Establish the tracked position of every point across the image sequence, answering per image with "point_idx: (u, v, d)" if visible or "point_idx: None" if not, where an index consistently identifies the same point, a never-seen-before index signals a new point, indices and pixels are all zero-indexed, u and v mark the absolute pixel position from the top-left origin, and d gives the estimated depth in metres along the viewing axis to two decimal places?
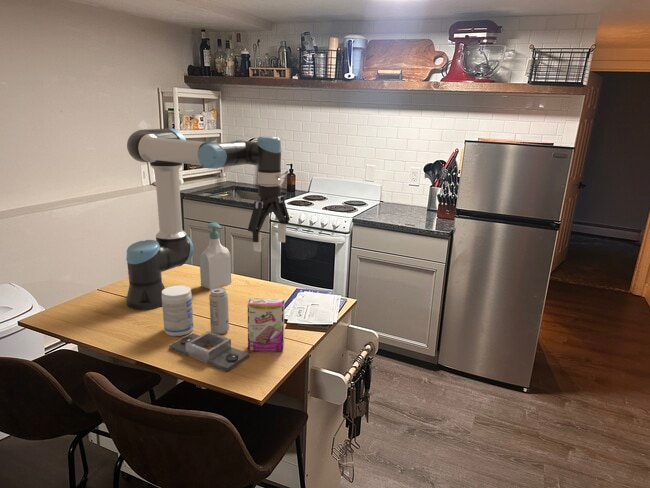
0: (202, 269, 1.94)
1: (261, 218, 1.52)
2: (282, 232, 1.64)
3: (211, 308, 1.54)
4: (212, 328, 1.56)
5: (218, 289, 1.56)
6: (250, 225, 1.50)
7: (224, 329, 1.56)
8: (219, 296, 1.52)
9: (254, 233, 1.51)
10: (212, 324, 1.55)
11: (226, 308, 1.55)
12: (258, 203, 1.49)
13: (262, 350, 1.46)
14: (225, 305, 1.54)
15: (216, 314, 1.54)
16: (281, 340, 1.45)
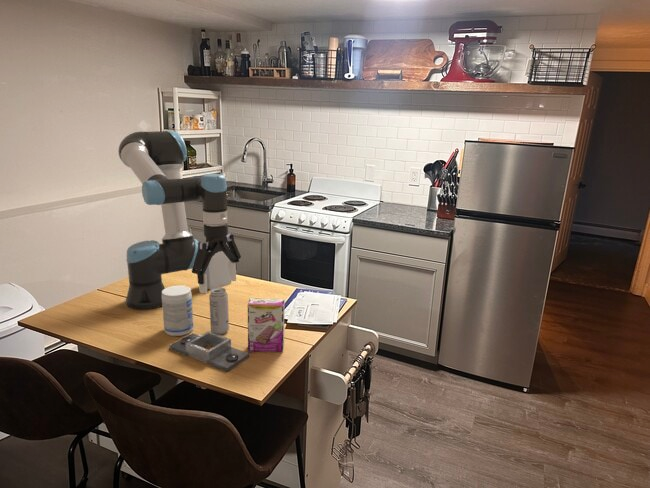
0: None
1: (206, 259, 1.46)
2: (232, 271, 1.58)
3: (211, 308, 1.54)
4: (212, 328, 1.56)
5: (218, 289, 1.56)
6: (194, 267, 1.44)
7: (224, 329, 1.56)
8: (219, 296, 1.52)
9: (199, 275, 1.45)
10: (212, 324, 1.55)
11: (226, 308, 1.55)
12: (202, 244, 1.44)
13: (262, 350, 1.46)
14: (225, 305, 1.54)
15: (216, 314, 1.54)
16: (281, 340, 1.45)
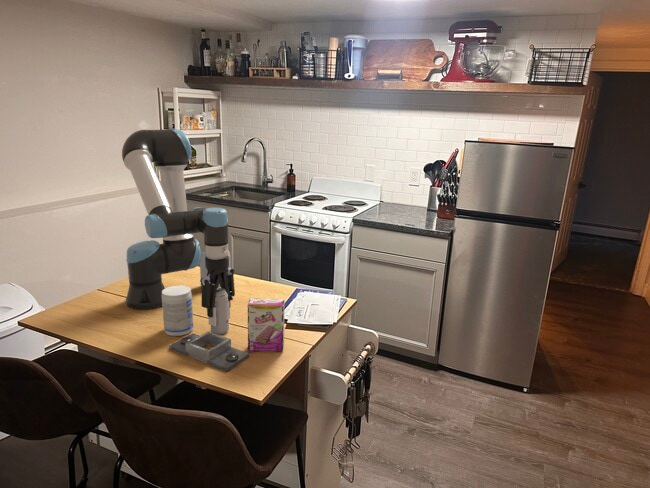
0: (202, 269, 1.94)
1: (212, 293, 1.51)
2: None
3: None
4: (212, 328, 1.56)
5: (218, 289, 1.56)
6: (203, 302, 1.50)
7: (224, 329, 1.56)
8: (219, 296, 1.52)
9: (208, 309, 1.52)
10: None
11: (226, 308, 1.55)
12: (204, 281, 1.47)
13: (262, 350, 1.46)
14: (225, 305, 1.54)
15: (216, 313, 1.54)
16: (281, 340, 1.45)
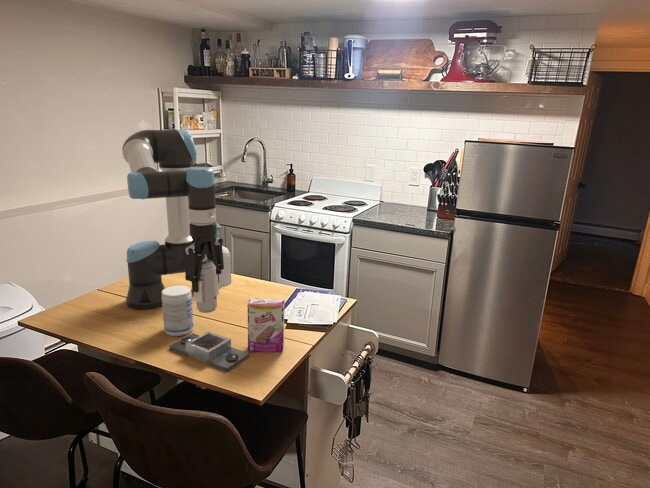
0: None
1: (197, 264, 1.33)
2: None
3: None
4: (198, 305, 1.38)
5: (205, 261, 1.38)
6: (186, 274, 1.32)
7: (211, 306, 1.38)
8: (206, 269, 1.34)
9: (193, 282, 1.34)
10: None
11: (214, 282, 1.37)
12: (188, 250, 1.29)
13: (262, 350, 1.46)
14: (213, 279, 1.36)
15: (202, 288, 1.36)
16: (281, 340, 1.45)
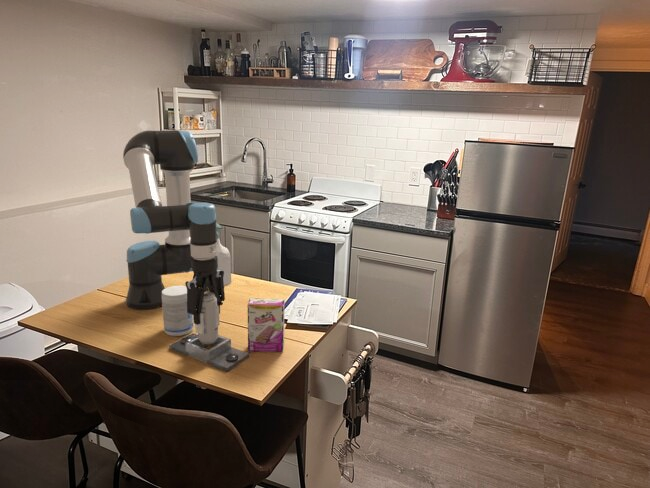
0: None
1: (199, 297, 1.36)
2: None
3: None
4: (199, 336, 1.41)
5: (206, 293, 1.41)
6: (188, 308, 1.35)
7: (213, 337, 1.41)
8: (207, 301, 1.37)
9: (195, 315, 1.37)
10: None
11: (215, 314, 1.40)
12: (190, 285, 1.32)
13: (262, 350, 1.46)
14: (214, 311, 1.39)
15: (203, 320, 1.38)
16: (281, 340, 1.45)
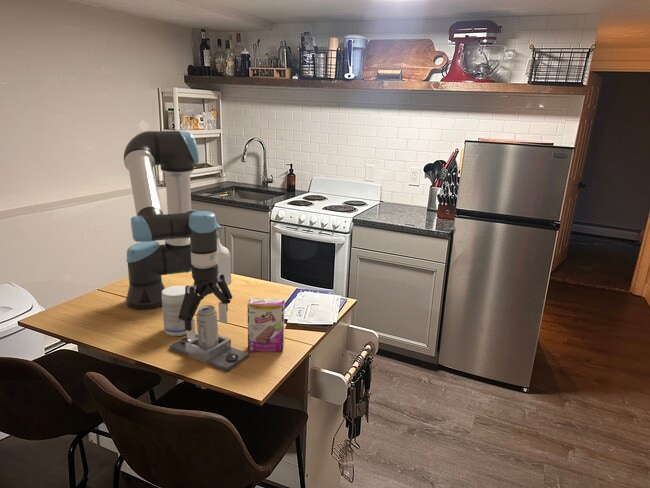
0: None
1: (194, 303, 1.35)
2: (223, 312, 1.47)
3: (199, 328, 1.40)
4: None
5: (206, 307, 1.42)
6: (181, 313, 1.33)
7: None
8: (208, 315, 1.39)
9: (186, 321, 1.34)
10: (200, 345, 1.42)
11: (215, 328, 1.41)
12: (190, 288, 1.32)
13: (262, 350, 1.46)
14: (214, 324, 1.40)
15: (204, 334, 1.40)
16: (281, 340, 1.45)
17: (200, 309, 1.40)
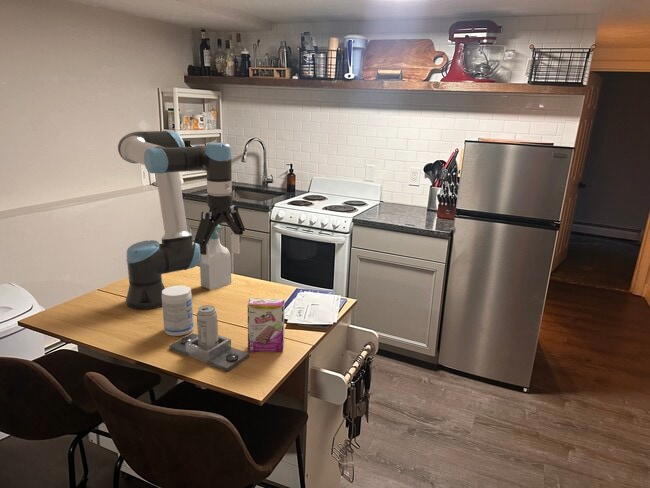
0: (202, 269, 1.94)
1: (209, 229, 1.44)
2: (236, 243, 1.55)
3: (199, 328, 1.40)
4: None
5: (206, 307, 1.42)
6: (196, 237, 1.42)
7: None
8: (208, 315, 1.39)
9: (201, 245, 1.43)
10: (200, 345, 1.42)
11: (215, 328, 1.41)
12: (205, 214, 1.41)
13: (262, 350, 1.46)
14: (214, 324, 1.40)
15: (204, 334, 1.40)
16: (281, 340, 1.45)
17: (200, 309, 1.40)
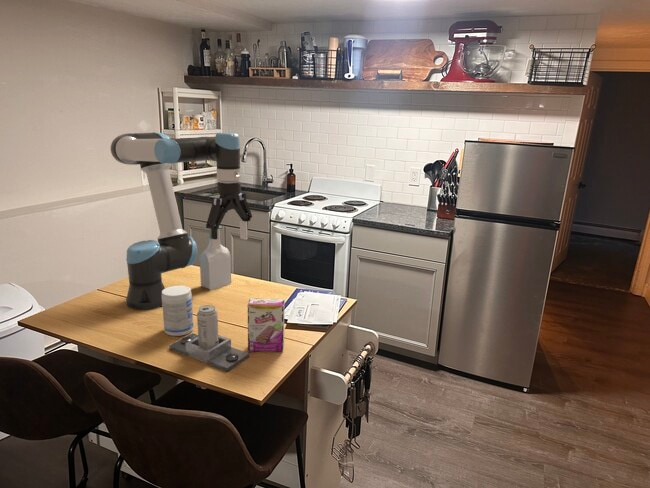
0: (202, 269, 1.94)
1: (220, 215, 1.51)
2: (244, 229, 1.63)
3: (199, 328, 1.40)
4: None
5: (207, 307, 1.42)
6: (208, 222, 1.49)
7: None
8: (208, 315, 1.39)
9: (212, 230, 1.50)
10: (200, 345, 1.42)
11: (215, 328, 1.41)
12: (216, 200, 1.49)
13: (262, 350, 1.46)
14: (214, 324, 1.41)
15: (204, 334, 1.40)
16: (281, 340, 1.45)
17: (201, 309, 1.40)
